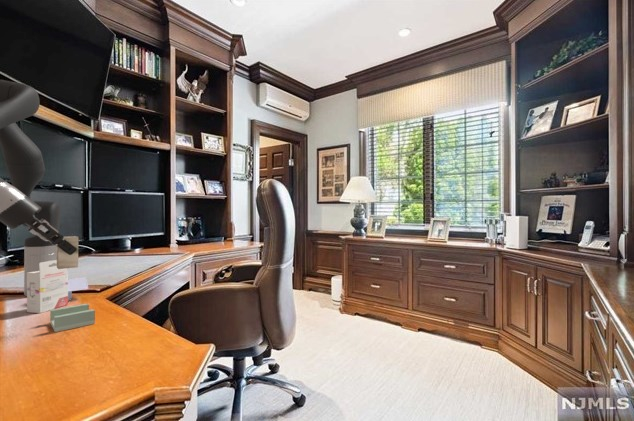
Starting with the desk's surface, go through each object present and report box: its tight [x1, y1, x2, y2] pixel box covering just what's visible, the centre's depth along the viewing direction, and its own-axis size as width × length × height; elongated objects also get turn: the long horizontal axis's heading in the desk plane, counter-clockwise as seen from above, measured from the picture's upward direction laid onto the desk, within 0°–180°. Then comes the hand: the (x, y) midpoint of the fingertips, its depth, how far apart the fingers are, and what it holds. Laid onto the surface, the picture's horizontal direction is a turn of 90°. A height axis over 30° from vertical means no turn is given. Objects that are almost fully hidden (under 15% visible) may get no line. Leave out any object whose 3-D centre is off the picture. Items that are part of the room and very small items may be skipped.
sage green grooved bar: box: [49, 302, 96, 333], centre depth 81 cm, size 9×8×4 cm
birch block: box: [57, 235, 79, 269], centre depth 82 cm, size 4×4×8 cm
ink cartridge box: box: [26, 260, 69, 314], centre depth 94 cm, size 9×5×15 cm, turn 168°
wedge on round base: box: [68, 276, 89, 302], centre depth 104 cm, size 9×7×13 cm
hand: (72, 251), depth 83 cm, fingers closed on birch block, 4 cm apart
